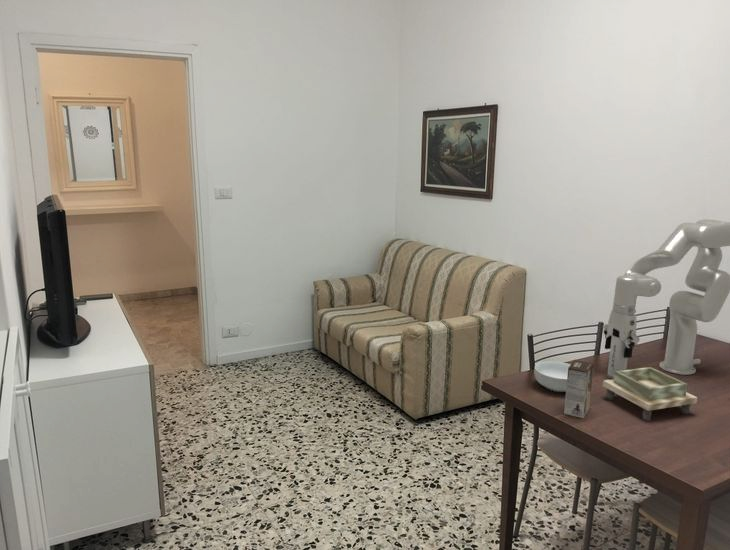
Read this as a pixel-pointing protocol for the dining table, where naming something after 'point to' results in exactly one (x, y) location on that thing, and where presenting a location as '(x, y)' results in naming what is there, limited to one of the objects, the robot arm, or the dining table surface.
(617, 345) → the travel mug
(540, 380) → the cereal bowl
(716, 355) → the dining table surface
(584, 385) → the coffee box
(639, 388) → the framed shelf
